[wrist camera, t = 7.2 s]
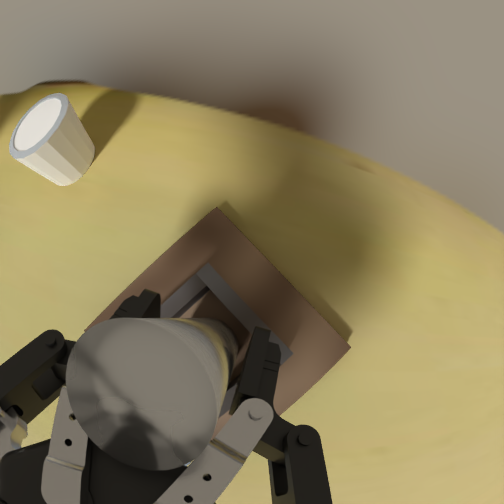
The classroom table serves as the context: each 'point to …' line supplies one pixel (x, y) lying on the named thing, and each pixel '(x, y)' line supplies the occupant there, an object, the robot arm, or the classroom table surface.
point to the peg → (151, 387)
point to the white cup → (53, 141)
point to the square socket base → (240, 305)
